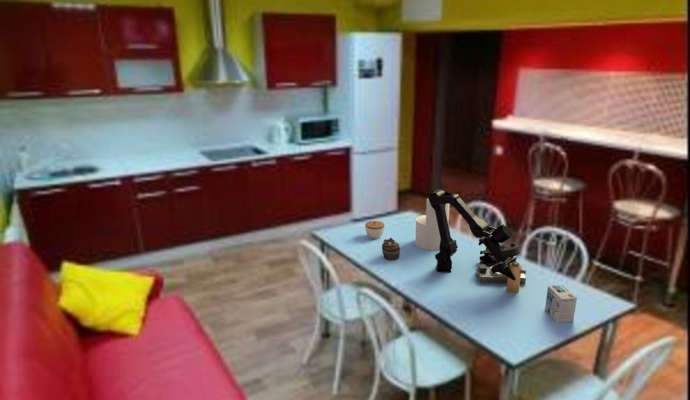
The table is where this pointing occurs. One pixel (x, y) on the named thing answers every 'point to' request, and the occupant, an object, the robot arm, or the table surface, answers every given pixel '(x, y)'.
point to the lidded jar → (374, 229)
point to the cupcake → (391, 249)
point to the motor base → (493, 275)
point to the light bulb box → (560, 303)
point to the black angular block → (487, 258)
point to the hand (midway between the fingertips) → (517, 277)
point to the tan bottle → (515, 284)
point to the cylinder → (429, 229)
